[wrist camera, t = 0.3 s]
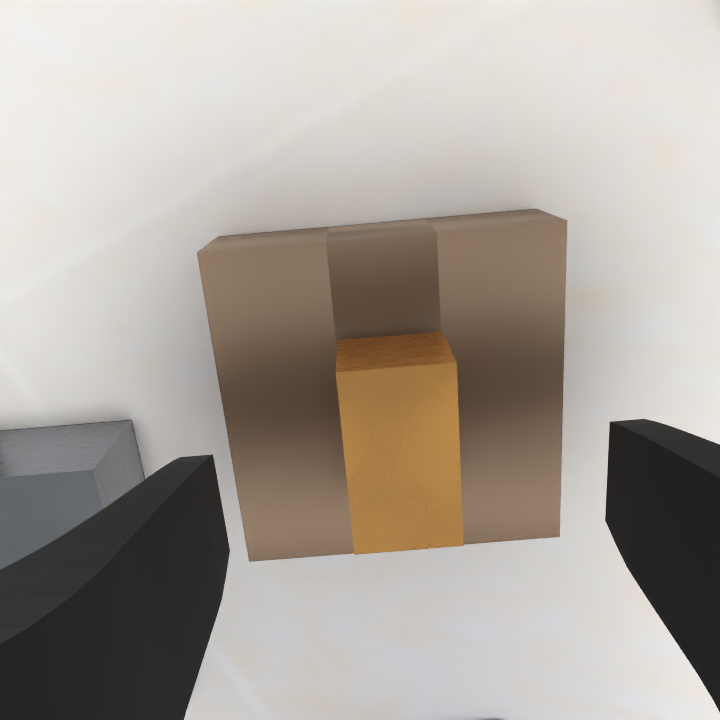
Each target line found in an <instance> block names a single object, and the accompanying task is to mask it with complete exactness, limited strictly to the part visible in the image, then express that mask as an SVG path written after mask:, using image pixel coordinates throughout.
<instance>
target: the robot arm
mask: <svg viewBox="0 0 720 720" xmlns="http://www.w3.org/2000/svg"><path fill="white" fill-rule="evenodd" d="M605 521H606V523H607V525H608V527H609V530H610V532H611V534H612V536H613V539H614V541H615V543H616V545H617V547H618V549H619V552H620V554H621V556H622V558H623V560H624V562H625V564H626V566H627V568H628V569H629V571H630V572H631V574H632V576H633V577H634V579H635V580H636V582H637V583H638V585H639V586H640V588H641V589H642V591H643V593H644V594H645V596H646V597H647V599H648V600H649V602H650V603H651V605H652V606H653V608H654V609H655V611H656V612H657V614H658V615H659V617H660V618H661V620H662V621H663V623H664V624H665V626H666V627H667V629H668V630H669V632H670V633H671V635H672V636H673V638H674V639H675V641H676V642H677V644H678V645H679V647H680V648H681V650H682V651H683V653H684V654H685V656H686V657H687V659H688V660H689V662H690V663H691V665H692V666H693V668H694V669H695V671H696V672H697V674H698V675H699V677H700V679H701V680H702V682H703V684H704V685H705V687H706V689H707V690H708V692H709V694H710V695H711V697H712V699H713V700H714V702H715V704H716V706H717V708H718V710H719V712H720V445H719V444H716V443H714V442H711V441H709V440H706V439H703V438H701V437H698V436H695V435H693V434H690V433H687V432H685V431H682V430H679V429H676V428H674V427H671V426H668V425H665V424H662V423H658V422H655V421H651V420H646V419H639V420H627V421H615V422H610V431H609V452H608V474H607V495H606V517H605ZM229 553H230V549H229V543H228V538H227V532H226V526H225V521H224V515H223V509H222V504H221V498H220V492H219V487H218V481H217V475H216V470H215V464H214V458H213V455H203V456H191V457H180V458H178V459H176V460H174V461H172V462H170V463H169V464H167V465H166V466H164V467H162V468H161V469H159V470H158V471H157V472H155V473H154V474H152V475H151V476H149V477H148V478H147V479H145V480H144V481H142V482H141V483H140V484H138V485H137V486H135V487H134V488H132V489H131V490H130V491H128V492H127V493H125V494H124V495H123V496H121V497H120V498H118V499H117V500H115V501H114V502H113V503H111V504H110V505H108V506H107V507H105V508H104V509H102V510H101V511H99V512H98V513H96V514H95V515H93V516H92V517H90V518H88V519H87V520H85V521H84V522H82V523H81V524H79V525H78V526H76V527H74V528H73V529H71V530H70V531H68V532H67V533H65V534H64V535H62V536H61V537H59V538H57V539H55V540H54V541H52V542H50V543H49V544H47V545H45V546H43V547H42V548H40V549H38V550H36V551H35V552H33V553H31V554H29V555H27V556H25V557H23V558H22V559H20V560H18V561H16V562H14V563H12V564H10V565H8V566H6V567H5V568H3V569H1V570H0V720H184V717H185V713H186V710H187V707H188V704H189V701H190V697H191V694H192V691H193V688H194V685H195V682H196V679H197V676H198V673H199V670H200V666H201V663H202V660H203V657H204V654H205V651H206V648H207V645H208V642H209V639H210V635H211V632H212V629H213V626H214V623H215V619H216V616H217V613H218V610H219V606H220V603H221V600H222V595H223V589H224V584H225V578H226V572H227V566H228V559H229Z"/></svg>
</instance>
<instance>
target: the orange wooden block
mask: <svg viewBox="0 0 720 720" xmlns="http://www.w3.org/2000/svg"><path fill="white" fill-rule="evenodd" d="M336 380H337V390H338V400H339V410H340V419H341V429H342V439H343V448H344V458H345V468H346V477H347V487H348V497H349V506H350V516H351V526H352V536H353V545H354V554H366V553H379V552H391V551H404V550H416V549H429V548H441V547H454V546H463V523H462V495H461V467H460V439H459V411H458V382H457V362H456V360H455V358H454V356H453V353H452V351H451V349H450V347H449V345H448V343H447V341H446V339H445V337H444V335H443V333H442V331H440V332H428V333H416V334H405V335H393V336H381V337H369V338H357V339H346V340H338V343H337V359H336Z"/></svg>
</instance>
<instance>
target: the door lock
mask: <svg viewBox="0 0 720 720" xmlns="http://www.w3.org/2000/svg"><path fill="white" fill-rule="evenodd" d="M144 480H145V479H144V475H143V470H142V466H141V461H140V457H139V452H138V448H137V443H136V439H135V434H134V430H133V425H132V421H131V420H127V421H115V422H103V423H91V424H79V425H67V426H55V427H43V428H31V429H19V430H7V431H0V570H1V569H3V568H5V567H6V566H8V565H10V564H12V563H14V562H16V561H18V560H20V559H22V558H23V557H25V556H27V555H29V554H31V553H33V552H35V551H36V550H38V549H40V548H42V547H43V546H45V545H47V544H49V543H50V542H52V541H54V540H55V539H57V538H59V537H61V536H62V535H64V534H65V533H67V532H68V531H70V530H71V529H73V528H74V527H76V526H78V525H79V524H81V523H82V522H84V521H85V520H87V519H88V518H90V517H92V516H93V515H95V514H96V513H98V512H99V511H101V510H102V509H104V508H105V507H107V506H108V505H110V504H111V503H113V502H114V501H115V500H117V499H118V498H120V497H121V496H123V495H124V494H125V493H127V492H128V491H130V490H131V489H132V488H134V487H135V486H137V485H138V484H140V483H141V482H142V481H144Z"/></svg>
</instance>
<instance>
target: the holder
mask: <svg viewBox="0 0 720 720" xmlns="http://www.w3.org/2000/svg"><path fill="white" fill-rule="evenodd" d="M566 240H567V220H564V219H562V218H559V217H556V216H554V215H551V214H548V213H546V212H543V211H540V210H538V209H529V210H517V211H506V212H494V213H483V214H471V215H460V216H448V217H437V218H426V219H414V220H403V221H391V222H380V223H368V224H357V225H345V226H334V227H322V228H311V229H299V230H288V231H276V232H265V233H254V234H242V235H231V236H219V237H217V238H216V239H215V240H213V241H212V242H211V243H209V244H208V245H207V246H205V247H204V248H203V249H201V250H200V251H199V252H197V256H198V261H199V267H200V273H201V279H202V285H203V291H204V297H205V303H206V309H207V315H208V321H209V327H210V332H211V338H212V344H213V350H214V356H215V362H216V368H217V374H218V380H219V386H220V392H221V398H222V403H223V409H224V415H225V421H226V427H227V433H228V439H229V445H230V451H231V457H232V463H233V469H234V474H235V480H236V486H237V492H238V498H239V504H240V510H241V516H242V522H243V528H244V534H245V540H246V546H247V551H248V557H249V562H251V561H263V560H276V559H288V558H301V557H313V556H326V555H338V554H351V553H354V545H353V536H352V526H351V516H350V506H349V497H348V487H347V477H346V468H345V458H344V448H343V439H342V429H341V419H340V410H339V400H338V390H337V380H336V359H337V343H338V340H346V339H357V338H369V337H381V336H393V335H405V334H416V333H428V332H440V331H442V333H443V335H444V337H445V339H446V341H447V343H448V345H449V347H450V349H451V351H452V353H453V356H454V358H455V360H456V362H457V382H458V411H459V439H460V467H461V495H462V523H463V544H475V543H488V542H500V541H513V540H525V539H538V538H550V537H560V496H561V454H562V411H563V368H564V325H565V283H566Z"/></svg>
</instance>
